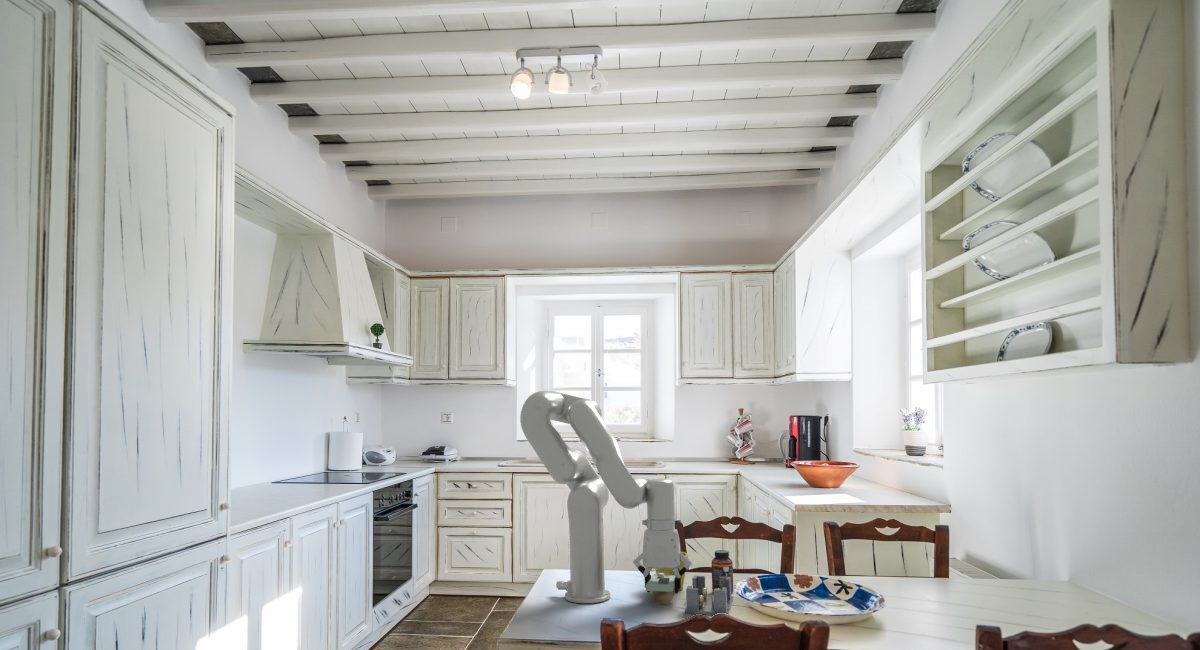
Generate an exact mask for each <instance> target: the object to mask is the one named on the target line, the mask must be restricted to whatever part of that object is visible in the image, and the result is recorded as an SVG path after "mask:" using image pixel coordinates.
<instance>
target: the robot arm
mask: <svg viewBox="0 0 1200 650" xmlns="http://www.w3.org/2000/svg"><path fill="white" fill-rule="evenodd" d="M520 410H521V411H520V416H519V420H520V427H521V430H522V433H523V435H524V436H525V438H526V439H527V441H528V443H529V445H530V446H531V447H532V449H533V450H534V451H535V453H536V455H537V457H538V458H539V460H540V462H541V463H542V464H543V465H544V467H545V469H546V470H547V473H549V475H550V476H551V478H552V479H553V480H554V481H555V482H556V483H558V484H560V485H566V486H567V487H568V488H569V490H570V492H569V494H568V496H567V501H566V504H567V505H566V507H567V516H568V517H567V518H568V527H569V531H568V532H569V565H570V566H569V572H570V573H569V575H570V577H569V580H567V581H563V580H562V581H559V580H558V581H556V585H555V588H556V589H557V590H560V591H561V590H562V591H563V590H565V591H566V592H565V594H564V599H565V600H566V601H569V602H571V603H574V604H575V603H576V604H577V603H578V604H594V603H595V604H597V603H602V602H605V601H607V600H609V599H610V598H611V592H610V591H609V590H608V589H605V585H606V583H605V542H604V541H605V540H604V537H605V536H604V520H603V511H602V510H603V509H604V508H605V507H606V505H607V504H608V501H609V492H610V494H611V495H612V497H613V499H614V500H615V501H616V503H617V504H618V505H619V506H620V507H622V508H624V509H627V510H632V509H635V508H638V507H639V506H640V505H642V504H646V511H647V512H646V513H647V514H646V515H647V516H646V519H645V520H644V519H643V520H642V523H641V525H642V526H645V527H646V529H644V532H643V539H642V540H643V542H642V553H640V554H639V555H638V556H637V557H636V558H635V559H633V561H632V564H633V565H635V567H636V568H637V570H638V571H639V572H640V573H641V574H642V576H643V577H644V588H645V589H646V584H647V583H648V581H649V580H650V579H651V578H652V574H651V573H650V572H651V570H652V569H654V570H655V569H672V570H673V572H674V573H675V578H674V582H675V588H674V589H675V591H674V594H678V593H679V589H681V576H682V575H683V574H684V573H685V574H686V572H687V571H688V569H689V568H690V566H691V565H692V564H693V562H692V561H691V560H690V559H689V557H688V558H686V557H685V556H684V555H683V554H682V553H681V552H682V551H681V543H680V542H681V541H680V536H679V531H678V529H676V520H675V518H676V517H675V514H676V513H675V485H674V481H672V480H671V479H669V478H653V479H650V478H649V479H648V478H642V477H633V475H632V474H631V472H630V471H629V469H628V468H627V466H626V465H625V463H624V461H623V458H622V455H621V450H620V446H619V445H620V444H619V442H618V439H617V438H616V437H615V435H614V434H613V433H612V431H611V429H610V428H609V426H608V425H607V423H606V422H605V420H604V419H603V417H602V415H603V414H602V410H601V407H600V405H599V404H598V403H597V402H596V401H595V400H592V399H590V398H584V397H583V398H582V397H579V396H575V395H572V394H571V395H570V394H566V393H562V392H558V391H552V390H540V391H536V392H533V393H532V394H530V395H529V396H528V397H527V398H526V399H525V401H524V403H523V406H522V407H521V409H520ZM551 421H554V422H555V421H556V422H560V423H564V424H568V425H570V426H571V428H572V430H573V431H574V433H575V434H576V436H577V437H578V438H579V440H580V442H581V443H582V445H583V446H584V448H585V449H586V451H587V452H588V454H589V456H590V457H591V458H592V461H593V464H594V466H595V467H596V469H597V470H596V469H595V467H594V466H593V464H592V463H591V462H590V460H589V459H588V457H587V456H586V455H585V453H583V452H582V451H580V450H578V449H576V448H571V447H569V446H568V444H567V443H566V442H565V440H564V439H563V436H561V434H560V432H559V431H558V430H557V429H556V427H554V426H553V424H552V422H551ZM681 560H682V561H683V562H684V563H685V566H684V567H683V568H682V569H681V570H680V569H679V565H680V564H681ZM641 561H642V563H641ZM650 592H651V591H646V593H650Z"/></svg>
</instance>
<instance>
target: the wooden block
mask: <svg viewBox="0 0 1200 650" xmlns="http://www.w3.org/2000/svg"><path fill="white" fill-rule="evenodd" d="M673 592H674V591H672V592H665V591H652V605H660V606H661V605H662V606H668V605H669V604H670V603H671V601H672V599H673V598H674V595H673V594H674V593H673Z"/></svg>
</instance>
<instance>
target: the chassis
mask: <svg viewBox="0 0 1200 650" xmlns="http://www.w3.org/2000/svg"><path fill="white" fill-rule="evenodd" d="M691 580H692V581H691V582H692V585H687V586H686V588H685V593H686V597H685V598H686V607H685V609H684V615H685V614H687V615H703V614H704V616H705V615H706V616H707V615H708V616H715V615H714V614H717V613H726V614H728V615H729V614H730V611H731V608H732V606H733V601H734V596H733V595H732V593H731V577H719V588H715V589H714V592H713V594H708V588H707V587H706V576H705V575H693V577H692V579H691ZM691 613H693V614H691Z"/></svg>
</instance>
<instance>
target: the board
mask: <svg viewBox="0 0 1200 650" xmlns="http://www.w3.org/2000/svg"><path fill="white" fill-rule="evenodd" d="M674 578H675V575H664V573H658V575H657V574H656V573H655V574H653V575H651V579H650V580H649V581H648V583H647V584H646V588H645V591H646V592H647V591H650V592H653V591H665V592H672V591H673V589H674V588H675V582H674ZM673 592H674V591H673Z"/></svg>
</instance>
